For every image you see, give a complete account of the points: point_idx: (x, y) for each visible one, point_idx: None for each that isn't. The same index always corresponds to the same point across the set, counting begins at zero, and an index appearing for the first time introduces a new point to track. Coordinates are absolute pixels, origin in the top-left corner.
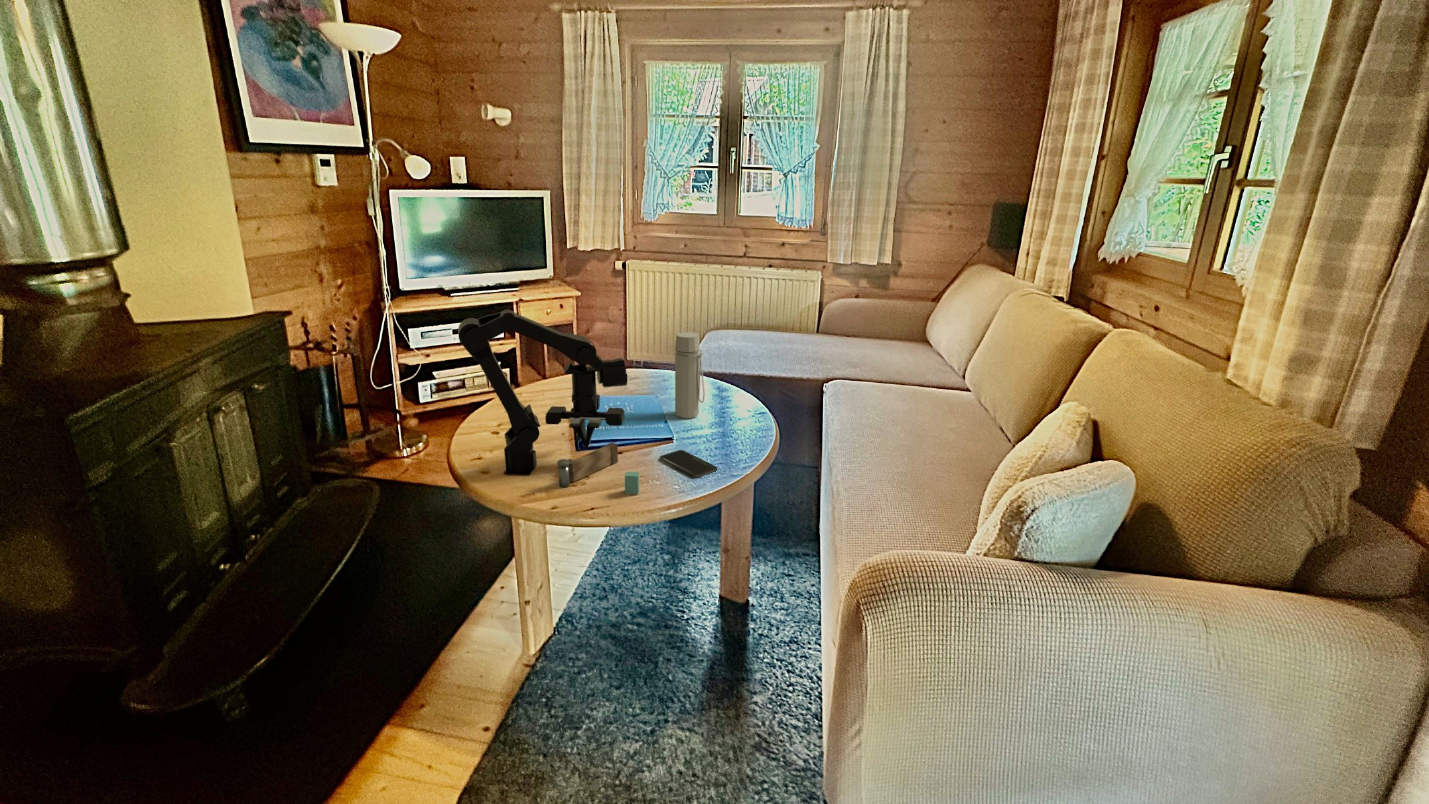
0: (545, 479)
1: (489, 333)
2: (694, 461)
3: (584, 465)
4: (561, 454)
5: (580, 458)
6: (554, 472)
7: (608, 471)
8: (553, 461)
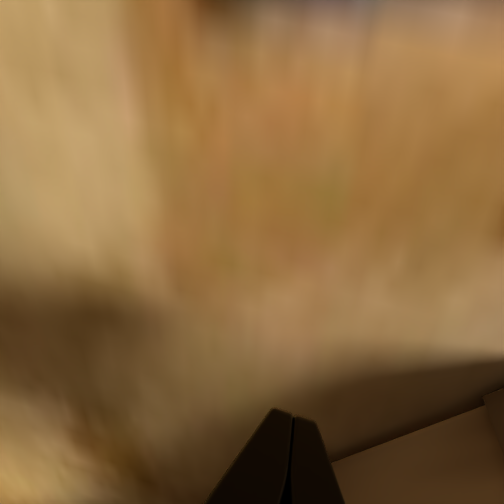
0: (32, 454)
1: None
2: None
3: None
4: (39, 71)
5: None
6: (62, 397)
7: None
8: (7, 226)
